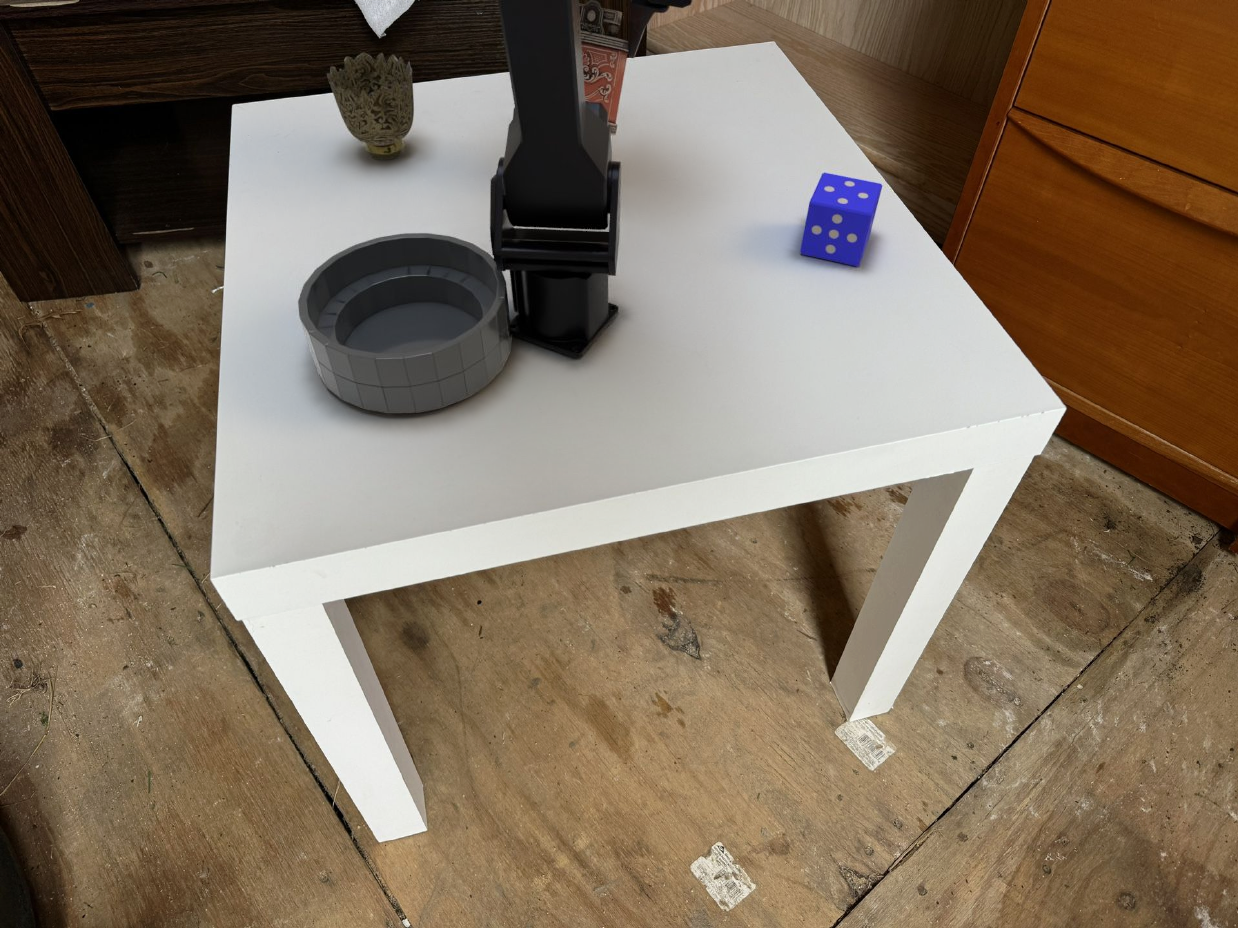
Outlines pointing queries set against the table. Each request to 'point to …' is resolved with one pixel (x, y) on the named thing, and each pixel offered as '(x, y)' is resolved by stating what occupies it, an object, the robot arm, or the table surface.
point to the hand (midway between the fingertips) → (587, 46)
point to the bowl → (407, 322)
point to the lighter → (602, 58)
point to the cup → (375, 101)
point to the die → (840, 218)
